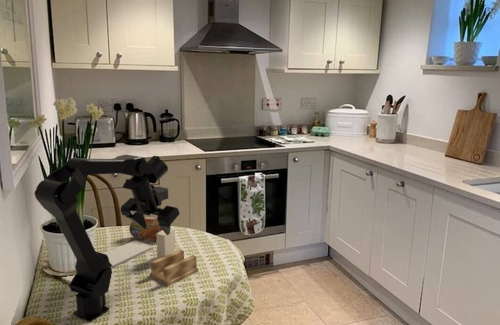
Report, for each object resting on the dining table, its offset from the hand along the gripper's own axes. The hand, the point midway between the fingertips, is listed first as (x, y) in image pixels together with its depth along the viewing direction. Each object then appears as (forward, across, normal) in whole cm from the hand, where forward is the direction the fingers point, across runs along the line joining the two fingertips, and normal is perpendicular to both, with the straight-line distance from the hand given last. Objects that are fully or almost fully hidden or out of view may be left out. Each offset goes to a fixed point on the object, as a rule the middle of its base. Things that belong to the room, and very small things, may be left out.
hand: (156, 231), depth 127 cm
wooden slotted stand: (+12, -7, +5) cm, 15 cm away
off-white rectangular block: (+15, +2, -2) cm, 15 cm away
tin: (+19, +18, -11) cm, 28 cm away
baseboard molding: (+11, +19, +9) cm, 24 cm away
